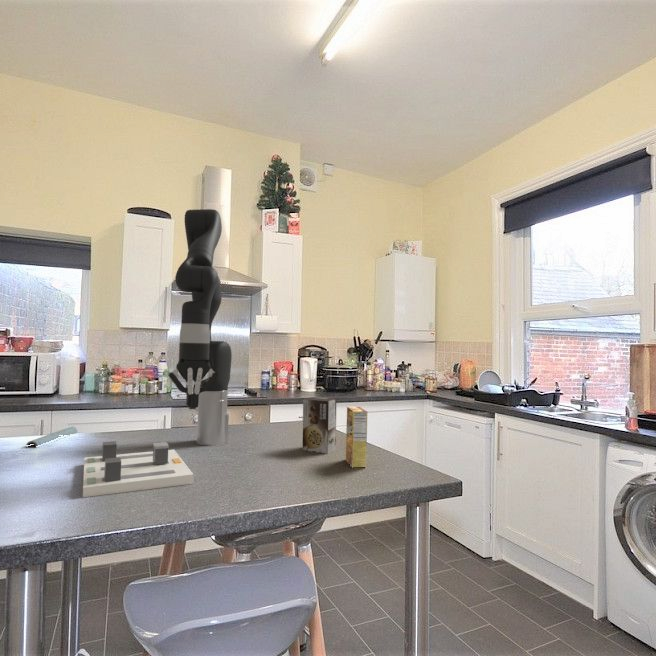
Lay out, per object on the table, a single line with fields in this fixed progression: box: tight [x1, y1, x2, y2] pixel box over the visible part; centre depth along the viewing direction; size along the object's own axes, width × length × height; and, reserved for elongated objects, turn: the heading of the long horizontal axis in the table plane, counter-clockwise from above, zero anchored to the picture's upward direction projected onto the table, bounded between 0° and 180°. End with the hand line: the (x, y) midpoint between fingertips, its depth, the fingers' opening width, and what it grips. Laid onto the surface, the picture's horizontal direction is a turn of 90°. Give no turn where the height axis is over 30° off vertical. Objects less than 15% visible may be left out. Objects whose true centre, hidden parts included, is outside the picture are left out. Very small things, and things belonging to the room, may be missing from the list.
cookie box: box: [301, 396, 337, 454], centre depth 135 cm, size 9×6×16 cm
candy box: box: [345, 406, 368, 469], centre depth 120 cm, size 9×4×15 cm, turn 10°
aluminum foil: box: [25, 426, 78, 446], centre depth 137 cm, size 23×7×3 cm, turn 3°
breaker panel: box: [82, 440, 194, 498], centre depth 105 cm, size 22×26×6 cm
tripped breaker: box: [152, 441, 170, 464], centre depth 108 cm, size 3×4×4 cm
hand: (192, 408), depth 112 cm, fingers closed
